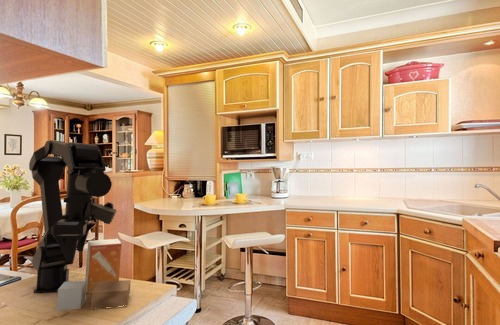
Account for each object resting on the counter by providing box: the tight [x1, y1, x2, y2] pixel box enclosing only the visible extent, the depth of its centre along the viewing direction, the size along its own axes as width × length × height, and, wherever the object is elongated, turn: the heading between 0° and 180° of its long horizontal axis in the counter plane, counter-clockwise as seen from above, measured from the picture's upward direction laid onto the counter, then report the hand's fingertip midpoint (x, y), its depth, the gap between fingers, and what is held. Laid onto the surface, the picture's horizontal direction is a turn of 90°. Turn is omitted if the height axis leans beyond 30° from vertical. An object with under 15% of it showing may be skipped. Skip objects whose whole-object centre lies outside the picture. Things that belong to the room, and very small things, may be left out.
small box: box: [84, 238, 122, 295], centre depth 84 cm, size 8×6×13 cm
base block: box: [90, 279, 131, 310], centre depth 75 cm, size 8×7×4 cm
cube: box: [56, 280, 87, 311], centre depth 73 cm, size 5×5×5 cm
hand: (75, 256), depth 73 cm, fingers open, 9 cm apart
